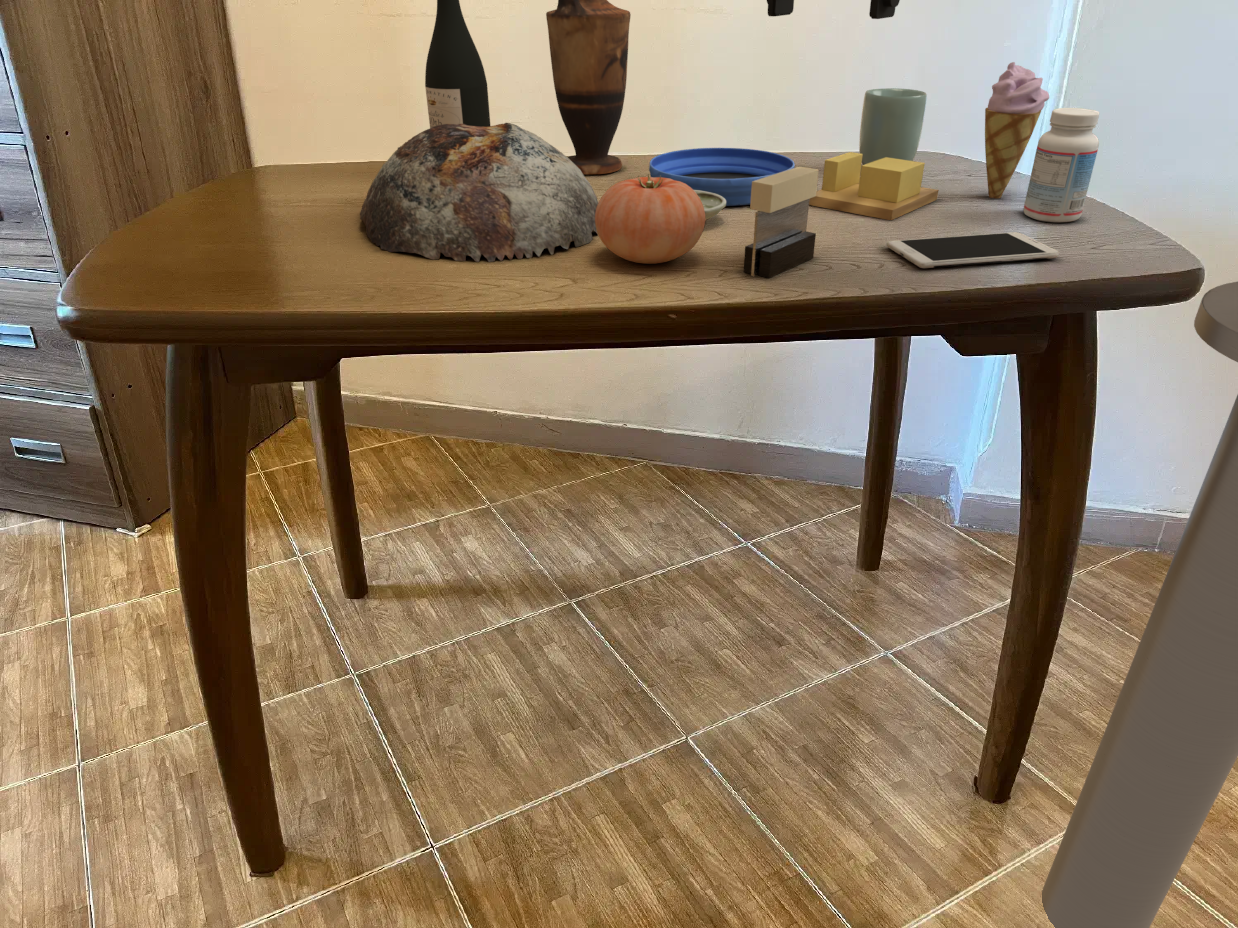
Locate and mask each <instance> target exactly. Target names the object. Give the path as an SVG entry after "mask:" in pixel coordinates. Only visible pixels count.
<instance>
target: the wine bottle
mask: <svg viewBox="0 0 1238 928" xmlns="http://www.w3.org/2000/svg"><path fill="white" fill-rule="evenodd" d="M461 7H462V6H461V3H460V0H436V16H435V21H434V26H433V32H432V36H431V39H430V44H429V47H428V51H427V56H426V62H425V73H424V76H425V77H424V87H425V96H426V105H427V113H428V122H429V129H430V128H432V127H434V126H438V125H443V124H466V125H468V126H478V127H489V126H491V116H490V115H491V113H490V102H489V90H488V89H489V88H488V82H487V76H486V72H485V68H484V64H483V62H482V58H481V56H480V54H479V52H478V49H477V47H476V45H475V42H474V40H473V38H472V35H471V33H470V31H469V28H468V26H467V23H466V21H465V18H464V15H463V11H462V8H461Z"/></svg>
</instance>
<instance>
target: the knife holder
mask: <svg viewBox="0 0 1238 928" xmlns="http://www.w3.org/2000/svg"><path fill="white" fill-rule="evenodd" d="M816 236H817V233H816V232H810V231H807V230H806V231H805V232H803V233H800V234H798V235H795V236H793V237H790V238H788V239H786V240H783V241H781V242H778V243H776V244H773V245H771V246H769V247H766V248H764V249H761V250H760V261H759V274H758V275H757V276H759V277H762V278H766V279H771V278H773V277H775V276H777V275H779V274H781V273H783V272H786V271H788V270H790V269H793V268H795V267H797V266H799V265H802V264H804V263H806V262H808V261H811V260H812V259H814V255H815V246H816V245H815V244H816V238H817V237H816ZM752 255H753V243H749V244H748V245H745V246H744V257H743V259H744V260H743V273H746V274H750V275H751V269H752Z"/></svg>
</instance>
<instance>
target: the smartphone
mask: <svg viewBox="0 0 1238 928" xmlns="http://www.w3.org/2000/svg"><path fill="white" fill-rule="evenodd" d="M886 247H887V248H889V249H890V250H891V251H894V252H895V253H896V254H898V255H899V256H901V257H903V258H904V259H906V260H907V261H909V262H911V263H912V264H914V265H915V266H916V267H918V268H920V269H934V268H946V267H959V266H960V267H961V266H971V265H985V264H998V263H1011V262H1012V263H1013V262H1023V261H1024V262H1025V261H1037V260H1038V261H1039V260H1050V259H1051V260H1052V259H1057V258H1058V257H1059V256H1060V251H1059V250H1057V249H1055V248H1054V247H1053V248H1052V247H1050V246H1048V245H1046V244H1044V243H1042V242H1040V241H1038V240H1036V239H1034V238H1031V237H1030V236H1028V235H1025V234H1023V233H1021V232H1016V231H1013V232H1011V231H1009V232H998V233H983V234H982V233H981V234H970V235H969V234H968V235H956V236H944V237H943V236H940V237H926V238H913V239H899V240H898V239H897V240H889V241H887V243H886Z"/></svg>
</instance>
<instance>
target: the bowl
mask: <svg viewBox="0 0 1238 928" xmlns="http://www.w3.org/2000/svg"><path fill="white" fill-rule="evenodd" d="M795 165H796V163H795V162H794V160H793V159H791V158H790V157H788V156H786V155H783V154H780V153H776V152H773V151H768V150H760V149H752V148H742V147H740V148H739V147H699V148H687V149H677V150H672V151H669V152H668V151H667V152H664V153H661V154H657V155H655V156H654V157H652V158H651V159H650V161H649V165H648V166H649V167H648V171H649V177H660V175H661V177H663V178H670V179H673V180H676V181H680V182H683V183H685V184H687V185H688V186H689V187H691V188H692V189H693V190H700V191H706V192H711V193H715V194H718V195H720V196H722V197H724V198H725V200H726V206H725V207H733V206H735V207H738V206H748V205H750V204H751V189H752V181H755V180H758V179H761V178H765V177H768V176H771V175H774V174H777V173H780V172H783V171H787V170H790V169H793V168H796V166H795Z"/></svg>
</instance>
